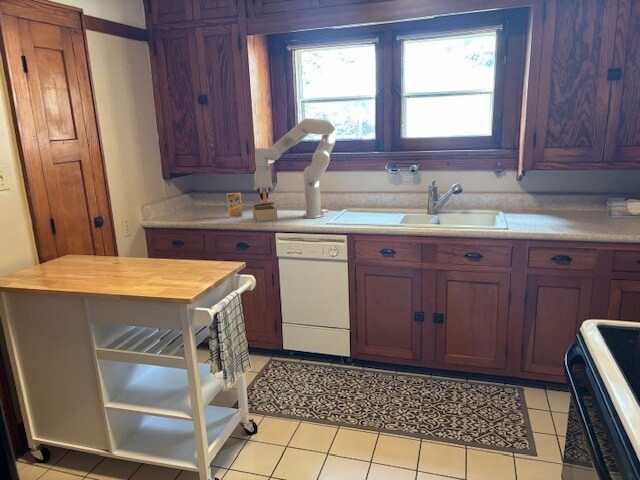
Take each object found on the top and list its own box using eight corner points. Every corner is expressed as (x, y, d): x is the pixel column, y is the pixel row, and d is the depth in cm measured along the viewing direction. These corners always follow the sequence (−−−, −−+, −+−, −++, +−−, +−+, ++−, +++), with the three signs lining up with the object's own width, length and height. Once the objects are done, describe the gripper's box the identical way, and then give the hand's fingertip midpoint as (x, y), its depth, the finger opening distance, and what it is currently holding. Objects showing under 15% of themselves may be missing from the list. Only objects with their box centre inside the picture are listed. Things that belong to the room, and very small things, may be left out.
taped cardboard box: (272, 205, 307) (271, 194, 308) (275, 201, 295) (274, 190, 296) (253, 207, 304) (251, 196, 304) (255, 203, 292) (254, 192, 293)
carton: (273, 216, 309) (273, 205, 308) (277, 220, 298) (276, 208, 296) (253, 218, 306) (252, 207, 304) (256, 222, 294) (255, 210, 292)
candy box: (229, 218, 309) (226, 194, 306) (228, 217, 313) (226, 193, 310) (242, 216, 312) (241, 193, 308) (241, 215, 316) (240, 192, 312)
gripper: (274, 167, 298) (275, 197, 303) (248, 169, 294) (250, 199, 298) (276, 168, 291) (278, 198, 296) (250, 170, 287) (252, 201, 291)
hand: (264, 198), depth 297 cm, fingers closed on taped cardboard box, 2 cm apart
